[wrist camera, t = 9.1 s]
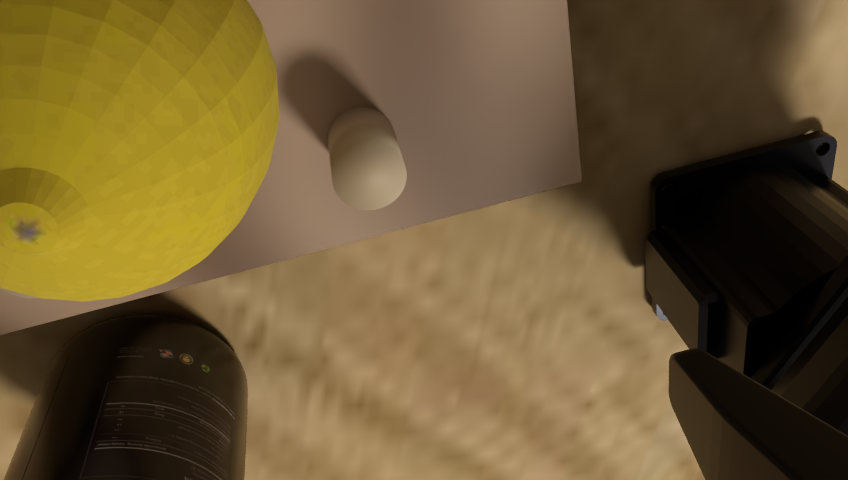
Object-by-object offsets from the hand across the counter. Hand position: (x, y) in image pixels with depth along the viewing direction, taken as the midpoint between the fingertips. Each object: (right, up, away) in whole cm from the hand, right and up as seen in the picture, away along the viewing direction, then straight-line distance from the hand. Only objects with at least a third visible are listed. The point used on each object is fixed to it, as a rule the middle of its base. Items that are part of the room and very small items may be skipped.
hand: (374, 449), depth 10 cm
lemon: (-5, +8, +4) cm, 10 cm away
